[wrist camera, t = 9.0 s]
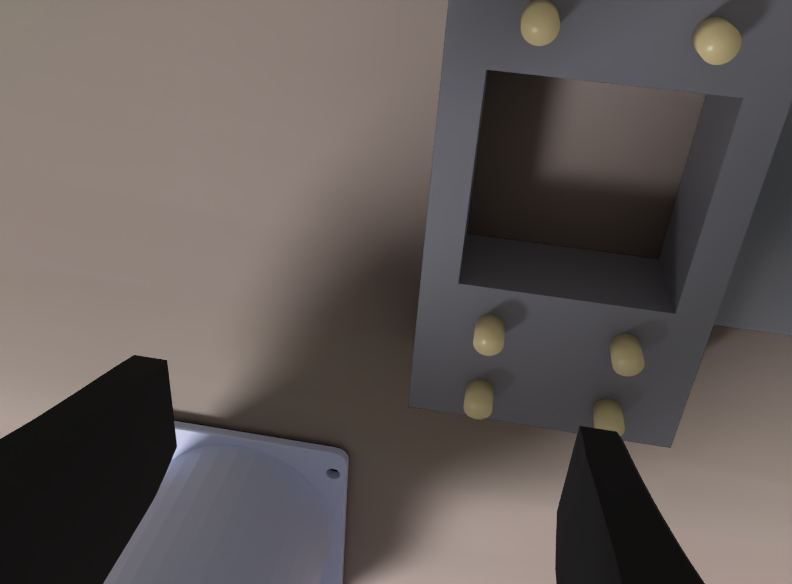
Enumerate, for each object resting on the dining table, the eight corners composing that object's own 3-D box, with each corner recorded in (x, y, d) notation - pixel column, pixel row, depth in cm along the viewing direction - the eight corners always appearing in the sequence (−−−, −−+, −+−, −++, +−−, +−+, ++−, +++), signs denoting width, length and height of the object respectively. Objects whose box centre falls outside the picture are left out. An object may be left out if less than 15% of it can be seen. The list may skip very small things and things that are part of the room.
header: (655, 383, 24) (675, 467, 21) (421, 348, 25) (404, 424, 21) (819, -133, 16) (889, -130, 13) (475, -161, 17) (461, -164, 14)
